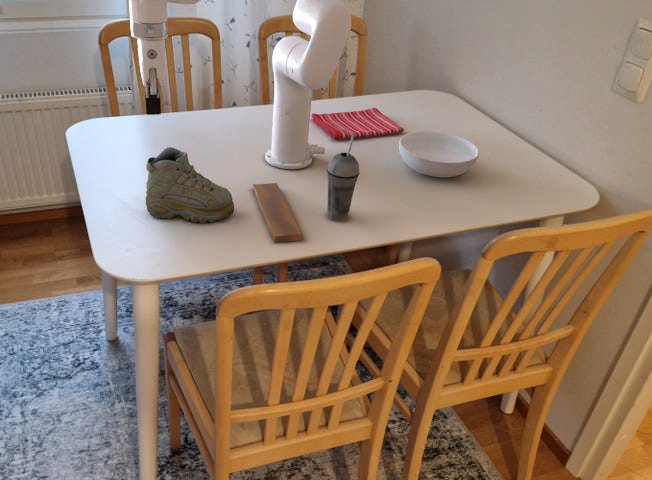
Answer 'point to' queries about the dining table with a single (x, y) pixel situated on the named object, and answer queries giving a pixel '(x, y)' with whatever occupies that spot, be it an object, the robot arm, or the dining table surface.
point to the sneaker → (183, 190)
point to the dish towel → (356, 124)
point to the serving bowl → (437, 153)
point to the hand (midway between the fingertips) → (153, 113)
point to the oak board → (276, 213)
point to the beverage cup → (341, 184)
